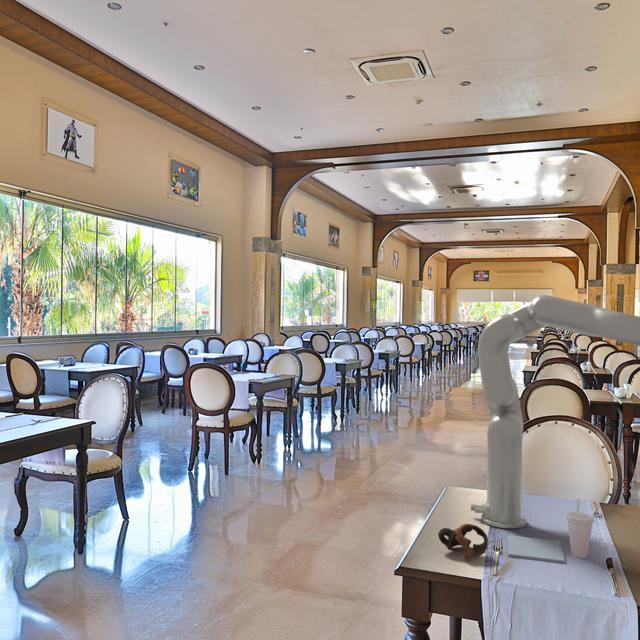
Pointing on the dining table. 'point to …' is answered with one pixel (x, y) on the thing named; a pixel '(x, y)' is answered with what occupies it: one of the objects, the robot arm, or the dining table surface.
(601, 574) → the dining table surface
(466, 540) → the brown twisted looped piece
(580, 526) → the smoothie
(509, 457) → the robot arm
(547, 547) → the mat
